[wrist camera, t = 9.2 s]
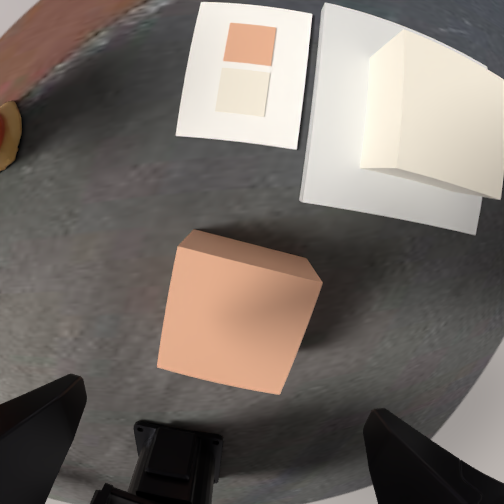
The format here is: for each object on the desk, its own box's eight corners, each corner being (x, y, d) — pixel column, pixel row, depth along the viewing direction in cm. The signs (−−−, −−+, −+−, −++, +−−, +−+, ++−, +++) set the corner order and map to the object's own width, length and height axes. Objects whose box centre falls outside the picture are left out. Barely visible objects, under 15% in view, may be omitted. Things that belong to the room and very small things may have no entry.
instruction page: (296, 149, 15) (296, 149, 15) (176, 136, 15) (175, 135, 14) (311, 15, 13) (312, 13, 13) (201, 3, 13) (201, 1, 12)
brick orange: (273, 352, 18) (279, 394, 14) (173, 328, 17) (156, 367, 14) (305, 257, 16) (322, 282, 13) (194, 228, 16) (177, 246, 12)
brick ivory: (453, 192, 14) (500, 200, 10) (359, 168, 14) (396, 168, 10) (460, 92, 13) (505, 80, 9) (369, 57, 13) (403, 29, 9)
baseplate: (466, 232, 16) (475, 235, 15) (299, 200, 15) (302, 202, 14) (478, 70, 13) (487, 67, 12) (321, 10, 13) (325, 2, 12)
